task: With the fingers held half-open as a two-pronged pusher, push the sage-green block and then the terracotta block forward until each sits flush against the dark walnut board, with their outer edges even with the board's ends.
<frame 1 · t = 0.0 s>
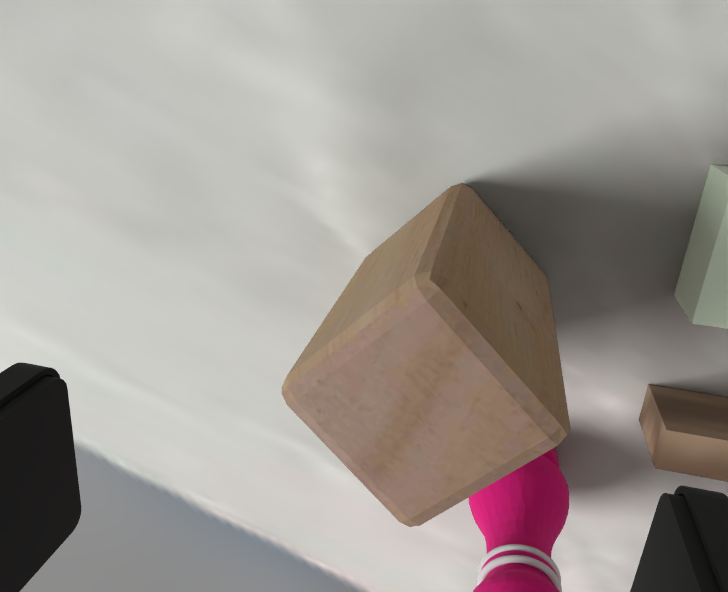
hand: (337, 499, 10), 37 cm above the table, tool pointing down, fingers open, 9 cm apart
wooden block: (454, 270, 47), on the table
pepper mill: (517, 458, 52), on the table
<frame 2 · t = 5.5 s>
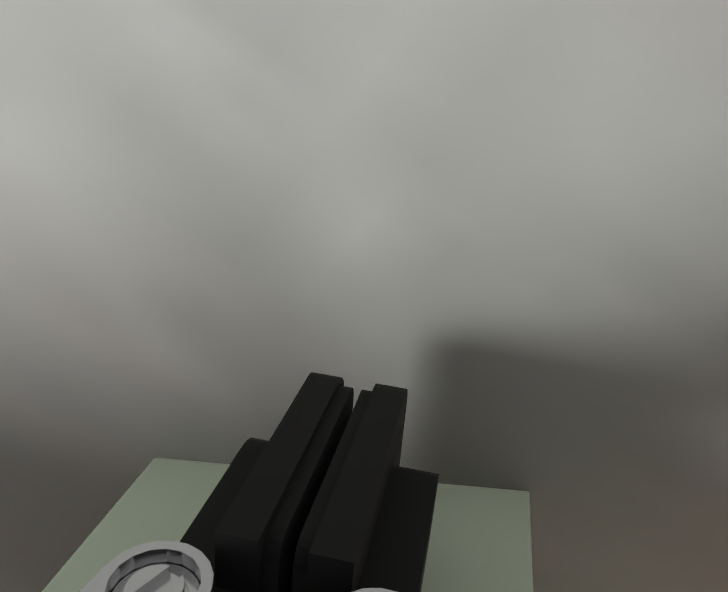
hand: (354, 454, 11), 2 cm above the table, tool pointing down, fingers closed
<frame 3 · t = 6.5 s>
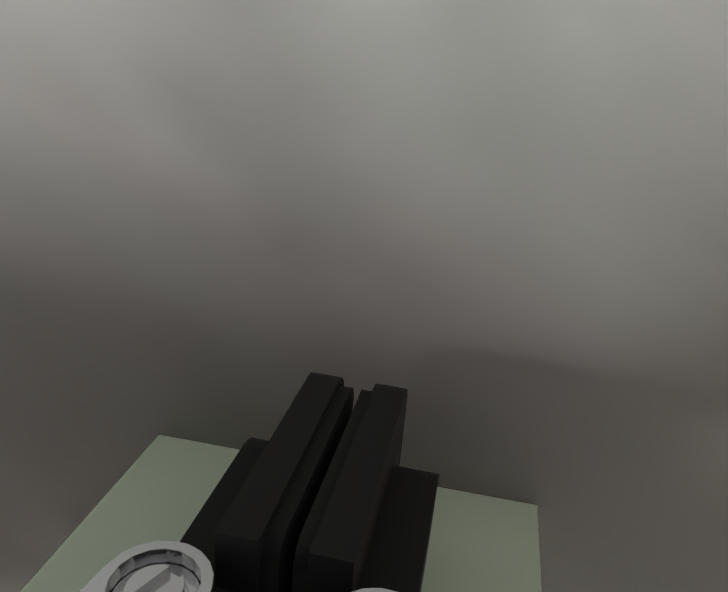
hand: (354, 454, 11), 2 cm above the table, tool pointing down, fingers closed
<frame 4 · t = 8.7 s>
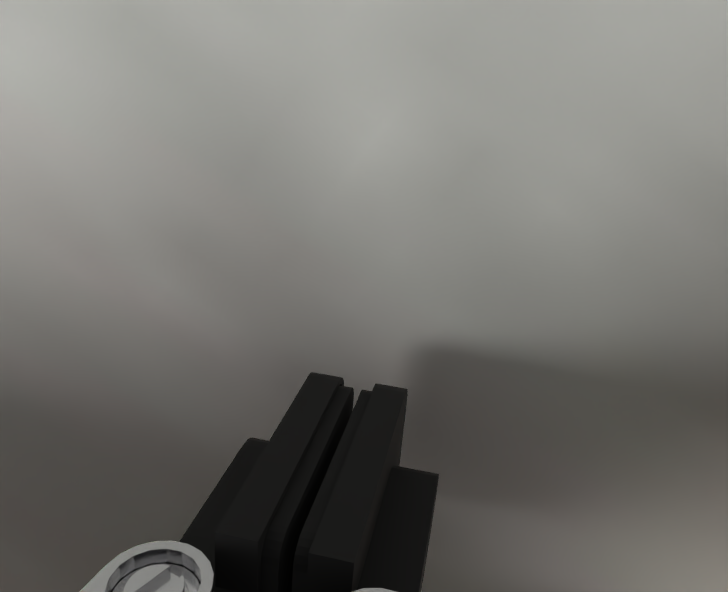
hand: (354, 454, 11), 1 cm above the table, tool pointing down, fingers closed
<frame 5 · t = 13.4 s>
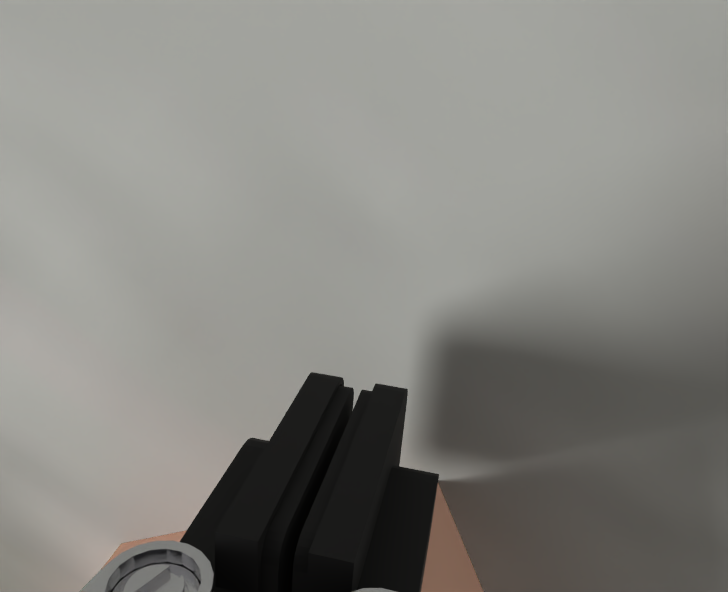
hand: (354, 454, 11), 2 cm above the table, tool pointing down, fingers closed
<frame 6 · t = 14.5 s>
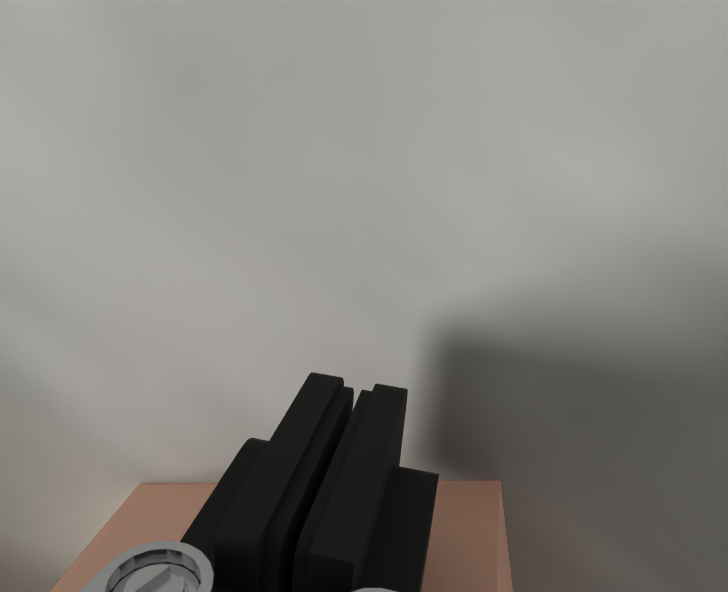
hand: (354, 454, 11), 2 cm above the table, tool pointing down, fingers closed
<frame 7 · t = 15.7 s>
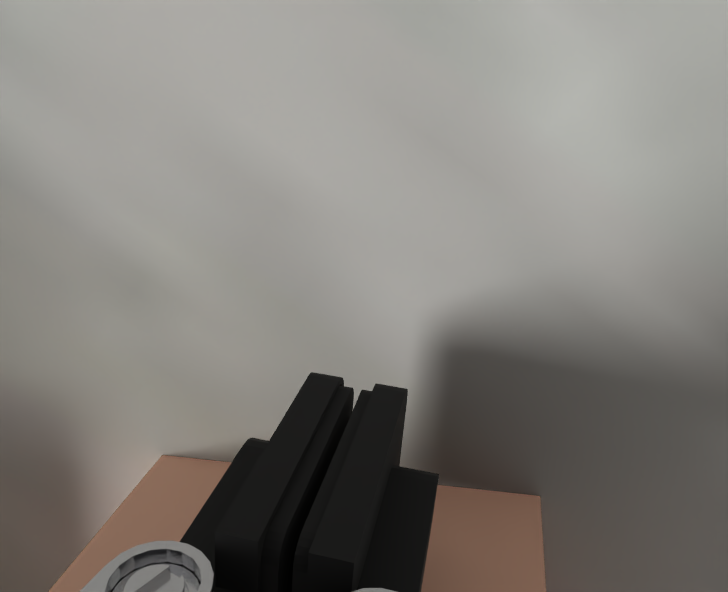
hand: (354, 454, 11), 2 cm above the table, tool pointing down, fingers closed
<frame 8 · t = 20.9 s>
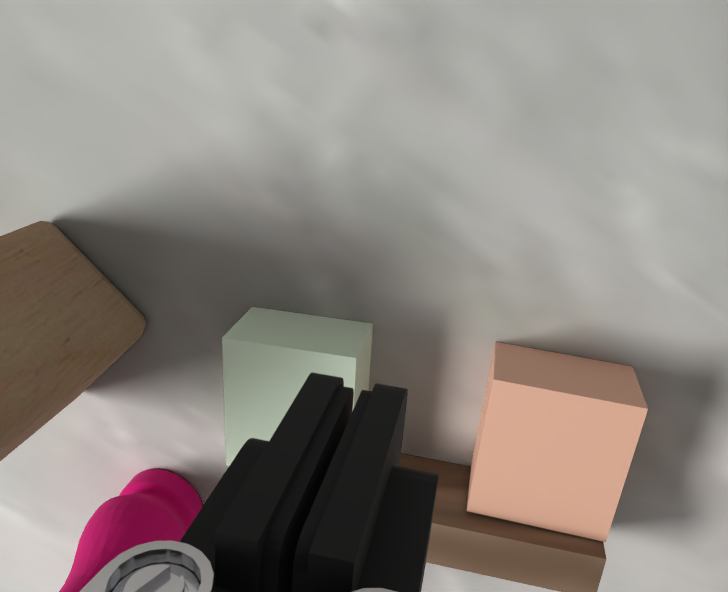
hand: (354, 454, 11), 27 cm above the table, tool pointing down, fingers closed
wooden block: (66, 308, 45), on the table
sage block: (310, 375, 43), on the table
walnut board: (421, 476, 44), on the table
terracotta block: (547, 415, 41), on the table
pepper mill: (167, 500, 50), on the table
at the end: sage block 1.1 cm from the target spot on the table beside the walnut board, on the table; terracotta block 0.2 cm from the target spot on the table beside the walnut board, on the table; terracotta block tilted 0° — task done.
